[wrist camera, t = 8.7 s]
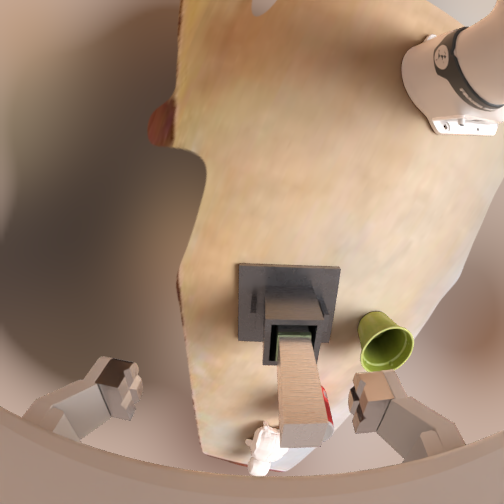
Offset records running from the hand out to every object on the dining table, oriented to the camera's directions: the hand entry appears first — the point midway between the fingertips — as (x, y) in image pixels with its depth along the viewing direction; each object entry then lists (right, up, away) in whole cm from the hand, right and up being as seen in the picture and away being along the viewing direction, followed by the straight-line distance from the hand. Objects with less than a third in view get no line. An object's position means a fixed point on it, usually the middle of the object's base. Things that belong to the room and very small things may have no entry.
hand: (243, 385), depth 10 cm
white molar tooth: (+4, -39, +51) cm, 64 cm away
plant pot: (+22, -8, +40) cm, 47 cm away
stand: (+6, -4, +39) cm, 40 cm away
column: (+6, -6, +32) cm, 34 cm away
